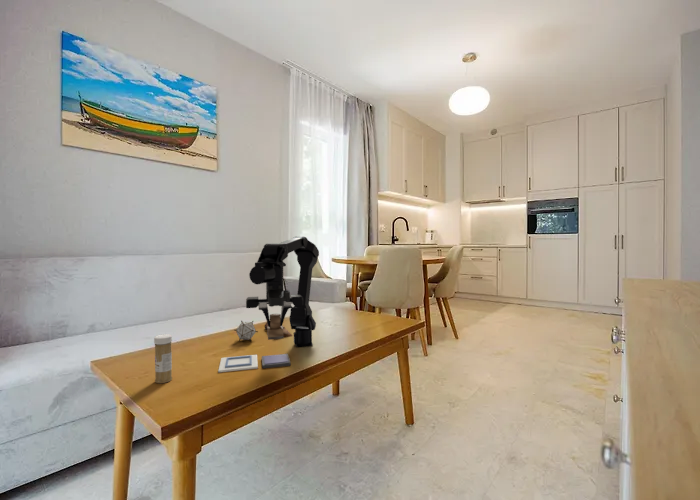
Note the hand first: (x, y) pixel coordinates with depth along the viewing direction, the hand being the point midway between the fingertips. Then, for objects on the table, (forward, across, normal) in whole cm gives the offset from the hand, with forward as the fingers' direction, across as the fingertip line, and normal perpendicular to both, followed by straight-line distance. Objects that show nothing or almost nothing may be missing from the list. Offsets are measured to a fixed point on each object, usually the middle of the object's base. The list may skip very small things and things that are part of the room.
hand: (275, 326), depth 116 cm
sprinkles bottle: (+12, -33, -6) cm, 36 cm away
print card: (+12, -12, +2) cm, 17 cm away
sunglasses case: (+13, +4, +37) cm, 39 cm away
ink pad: (+12, 0, 0) cm, 12 cm away
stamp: (+4, 0, 0) cm, 4 cm away
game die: (+13, -10, +29) cm, 33 cm away
